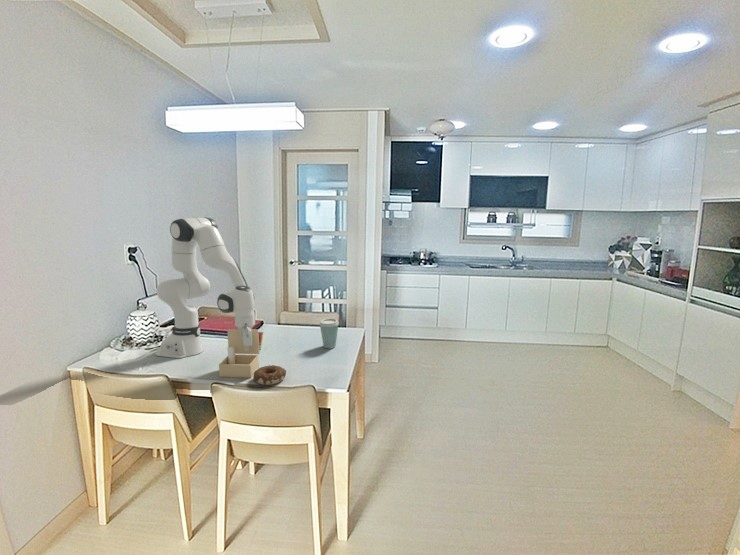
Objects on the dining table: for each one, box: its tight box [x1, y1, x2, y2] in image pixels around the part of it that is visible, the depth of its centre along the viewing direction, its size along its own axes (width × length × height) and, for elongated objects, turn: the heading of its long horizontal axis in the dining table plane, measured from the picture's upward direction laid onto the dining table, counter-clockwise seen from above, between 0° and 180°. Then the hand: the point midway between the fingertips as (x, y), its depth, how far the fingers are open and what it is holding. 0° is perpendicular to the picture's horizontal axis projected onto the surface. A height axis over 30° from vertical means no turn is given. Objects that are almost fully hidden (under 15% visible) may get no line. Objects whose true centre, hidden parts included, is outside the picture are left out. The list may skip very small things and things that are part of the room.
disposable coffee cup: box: [319, 317, 340, 349], centre depth 214 cm, size 11×11×15 cm
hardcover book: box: [258, 331, 264, 351], centre depth 216 cm, size 12×21×4 cm, turn 12°
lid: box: [227, 328, 260, 355], centre depth 184 cm, size 14×12×1 cm
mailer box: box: [218, 346, 260, 379], centre depth 179 cm, size 14×12×11 cm
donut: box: [252, 364, 287, 386], centre depth 172 cm, size 14×14×5 cm
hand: (246, 349), depth 182 cm, fingers closed
